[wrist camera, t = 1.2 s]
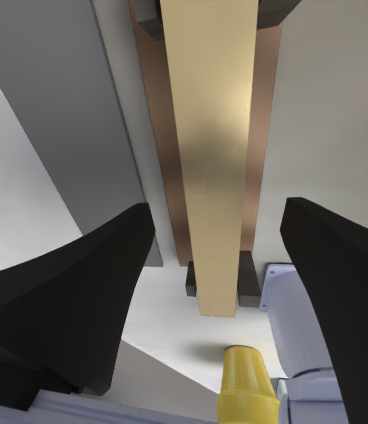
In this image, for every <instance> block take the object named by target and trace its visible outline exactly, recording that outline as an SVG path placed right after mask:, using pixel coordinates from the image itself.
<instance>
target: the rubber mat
mask: <svg viewBox="0 0 368 424" xmlns="http://www.w3.org/2000/svg"><path fill="white" fill-rule="evenodd" d="M0 88H1V90H2V91H3V93H4V95H5V97H6V99H7V100H8V102H9V104H10V106H11V108H12V109H13V111H14V113H15V115H16V117H17V118H18V120H19V122H20V124H21V125H22V127H23V129H24V131H25V133H26V134H27V136H28V138H29V140H30V142H31V143H32V145H33V147H34V149H35V150H36V152H37V154H38V156H39V158H40V159H41V161H42V163H43V165H44V167H45V168H46V170H47V172H48V174H49V176H50V177H51V179H52V181H53V183H54V184H55V186H56V188H57V190H58V192H59V193H60V195H61V197H62V199H63V201H64V202H65V204H66V206H67V208H68V209H69V211H70V213H71V215H72V217H73V218H74V220H75V222H76V224H77V226H78V227H79V229H80V231H81V233H82V235H83V236H84V235H86V234H88V233H90V232H91V231H93V230H95V229H96V228H98V227H100V226H101V225H103V224H105V223H106V222H108V221H110V220H111V219H113V218H114V217H116V216H117V215H119V214H120V213H122V212H123V211H125V210H126V209H128V208H130V207H131V206H133V205H135V204H137V203H145V202H146V199H145V195H144V191H143V188H142V184H141V180H140V176H139V173H138V169H137V165H136V162H135V158H134V154H133V150H132V147H131V143H130V139H129V135H128V132H127V128H126V124H125V121H124V117H123V113H122V109H121V106H120V102H119V98H118V94H117V91H116V87H115V83H114V80H113V76H112V72H111V68H110V65H109V61H108V57H107V53H106V50H105V46H104V42H103V39H102V35H101V31H100V27H99V24H98V20H97V16H96V12H95V9H94V5H93V1H92V0H0ZM144 266H150V267H163V262H162V258H161V255H160V251H159V247H158V243H157V240H156V236H154V240H153V243H152V247H151V249H150V252H149V254H148V257H147V259H146V261H145V264H144Z"/></svg>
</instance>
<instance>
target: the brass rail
mask: <svg viewBox="0 0 368 424" xmlns="http://www.w3.org/2000/svg"><path fill="white" fill-rule="evenodd" d="M160 4H161V11H162V19H163V27H164V35H165V43H166V50H167V58H168V66H169V74H170V82H171V89H172V97H173V105H174V113H175V121H176V128H177V136H178V144H179V152H180V160H181V167H182V175H183V183H184V191H185V199H186V206H187V214H188V222H189V230H190V238H191V246H192V253H193V261H194V269H195V277H196V285H197V292H198V300H199V308H200V315H206V316H218V317H230V318H235V305H236V292H237V279H238V265H239V252H240V239H241V225H242V212H243V199H244V186H245V172H246V159H247V146H248V132H249V119H250V106H251V92H252V79H253V66H254V53H255V39H256V26H257V13H258V0H160Z"/></svg>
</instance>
